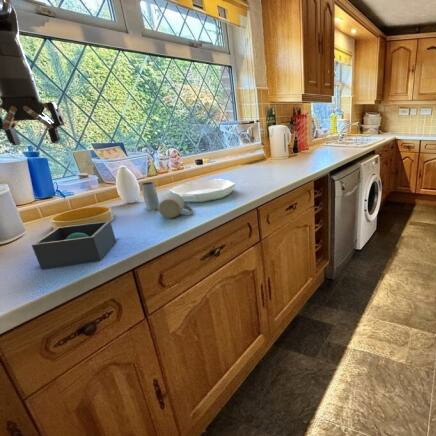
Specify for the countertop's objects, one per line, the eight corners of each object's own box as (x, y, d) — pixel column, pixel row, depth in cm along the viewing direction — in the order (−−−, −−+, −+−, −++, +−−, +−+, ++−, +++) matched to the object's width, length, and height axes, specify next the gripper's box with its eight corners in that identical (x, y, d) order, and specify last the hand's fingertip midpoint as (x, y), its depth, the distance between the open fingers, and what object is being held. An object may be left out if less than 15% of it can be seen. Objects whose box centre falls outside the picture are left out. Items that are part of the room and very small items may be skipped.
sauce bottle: (132, 199, 132) (121, 158, 126) (147, 200, 130) (136, 158, 124) (116, 204, 125) (104, 161, 119) (131, 205, 123) (119, 161, 117)
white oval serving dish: (214, 206, 118) (212, 195, 116) (155, 206, 121) (152, 195, 120) (245, 187, 146) (244, 178, 145) (197, 187, 150) (195, 178, 149)
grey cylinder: (153, 211, 114) (146, 185, 111) (144, 210, 116) (137, 184, 112) (162, 207, 118) (156, 182, 115) (154, 207, 120) (148, 181, 116)
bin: (41, 269, 73) (31, 245, 71) (65, 249, 84) (57, 227, 82) (100, 260, 76) (93, 237, 74) (116, 241, 87) (110, 221, 85)
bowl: (44, 237, 93) (39, 224, 92) (68, 220, 108) (64, 209, 106) (104, 229, 98) (101, 217, 96) (120, 214, 112) (117, 204, 111)
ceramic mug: (159, 220, 104) (154, 199, 101) (163, 213, 111) (159, 193, 108) (192, 217, 107) (188, 196, 104) (194, 210, 114) (191, 190, 111)
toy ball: (63, 259, 77) (56, 238, 75) (73, 250, 82) (67, 231, 80) (89, 255, 78) (83, 235, 76) (97, 247, 83) (92, 228, 81)
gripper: (-35, 76, 70) (-7, 147, 76) (39, 76, 74) (61, 143, 80) (-12, 79, 77) (12, 144, 82) (55, 79, 81) (74, 141, 86)
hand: (36, 144), depth 81 cm, fingers open, 8 cm apart
